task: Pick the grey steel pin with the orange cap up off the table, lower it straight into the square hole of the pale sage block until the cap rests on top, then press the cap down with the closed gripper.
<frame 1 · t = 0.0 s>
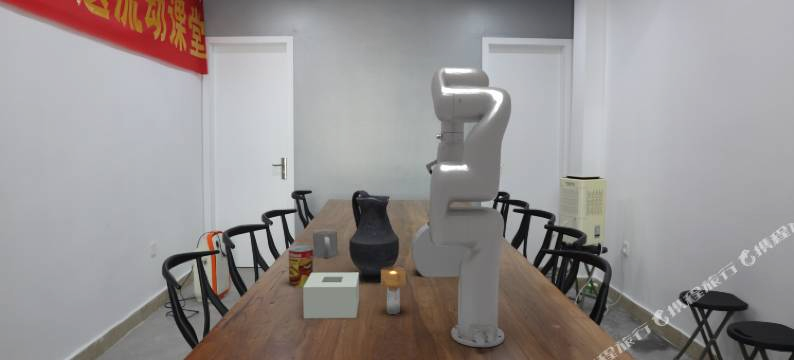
hand: (451, 190, 155), 31 cm above the table, tool pointing down, fingers open, 9 cm apart
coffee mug: (324, 256, 194), on the table
alarm clock: (441, 274, 168), on the table
hole block: (332, 308, 132), on the table
canned food: (301, 284, 155), on the table
pitcher: (371, 277, 164), on the table
pin: (393, 312, 129), on the table
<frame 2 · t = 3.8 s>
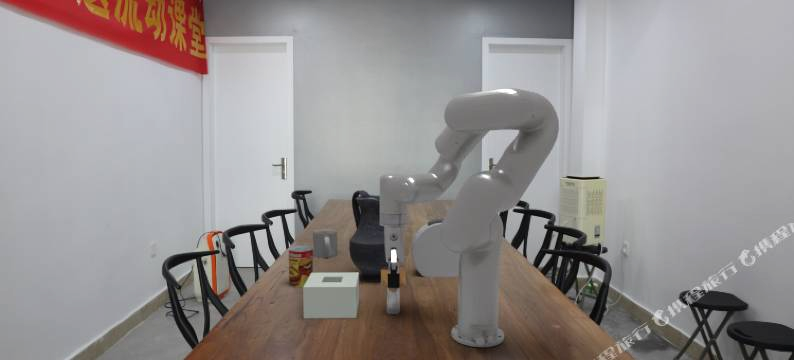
hand: (393, 283, 129), 8 cm above the table, tool pointing down, fingers closed on pin, 6 cm apart
pin: (393, 312, 129), on the table, touching gripper
everything else where it was.
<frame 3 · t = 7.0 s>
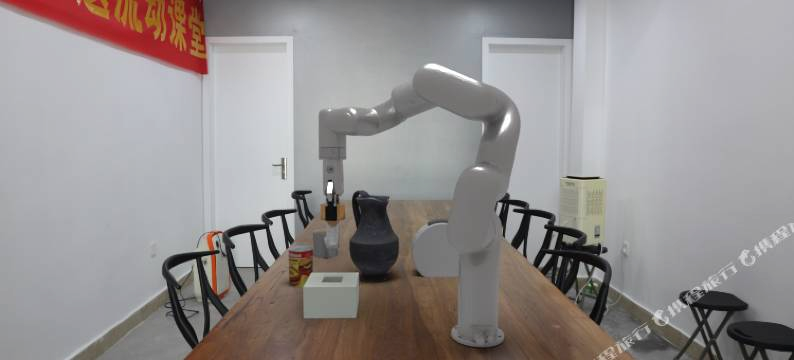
hand: (332, 218, 130), 26 cm above the table, tool pointing down, fingers closed on pin, 6 cm apart
pin: (332, 247, 130), point 18 cm above the table, touching gripper
everything else where it was.
when the fingers open (10 cm above the table, at t = 10.1 s): pin drops 1 cm, resting on hole block.
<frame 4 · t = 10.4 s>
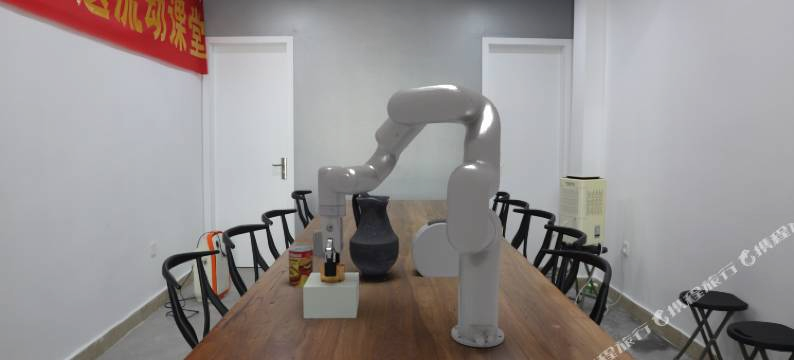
hand: (332, 271, 131), 11 cm above the table, tool pointing down, fingers open, 9 cm apart
pin: (332, 307, 132), resting on hole block
everything else where it was.
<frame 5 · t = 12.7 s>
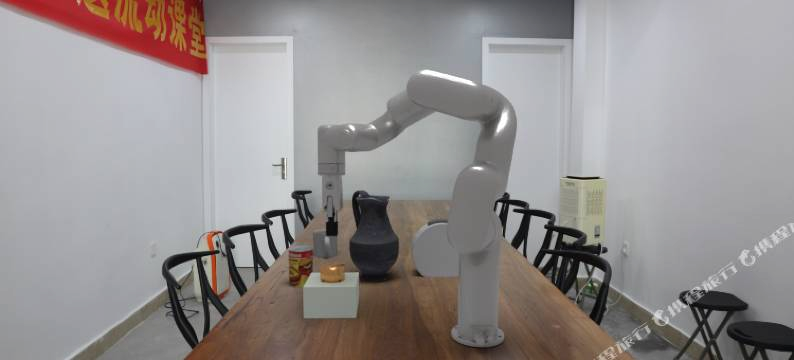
hand: (332, 235, 130), 21 cm above the table, tool pointing down, fingers closed
nothing on the table moved.
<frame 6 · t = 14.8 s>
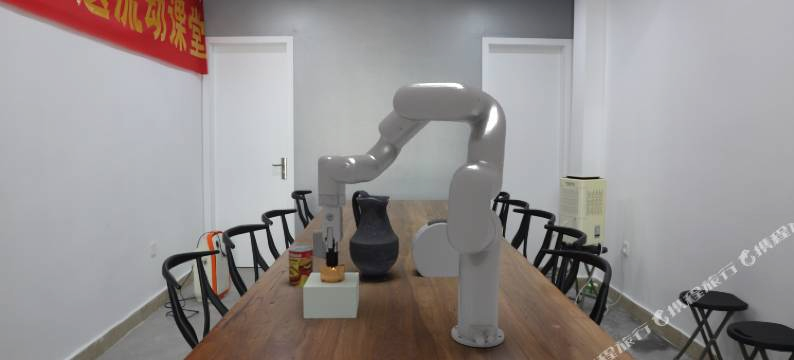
hand: (332, 265, 131), 13 cm above the table, tool pointing down, fingers closed
pin: (332, 307, 132), resting on hole block, touching gripper
everything else where it was.
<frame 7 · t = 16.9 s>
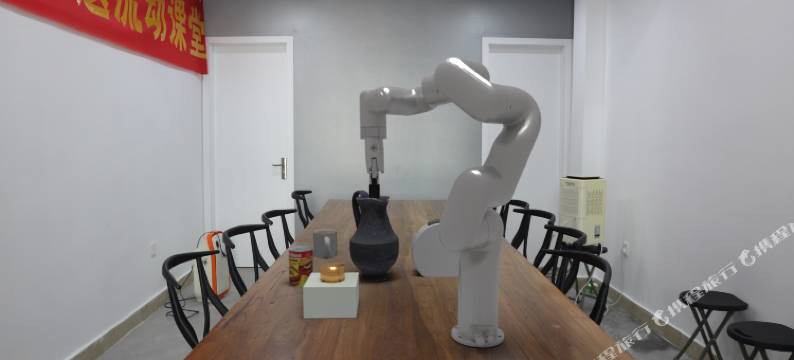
hand: (374, 197, 135), 31 cm above the table, tool pointing down, fingers closed
pin: (332, 307, 132), resting on hole block
everything else where it was.
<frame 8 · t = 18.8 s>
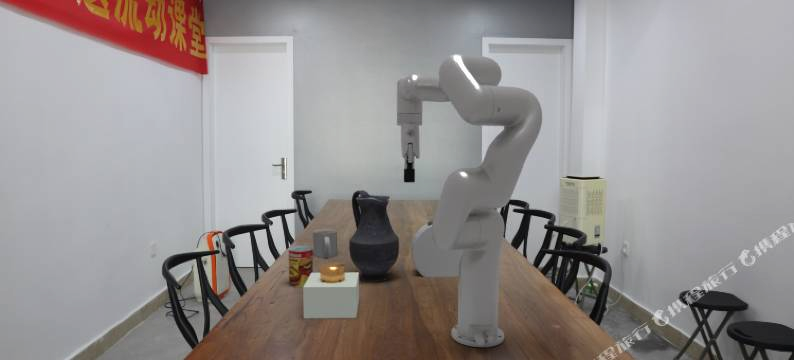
hand: (409, 182, 140), 35 cm above the table, tool pointing down, fingers closed
nothing on the table moved.
at the end: pin 0.1 cm off-centre on the hole block, point 0.5 cm above the hole block's base; pin tilted 0°; the gripper is holding nothing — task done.
